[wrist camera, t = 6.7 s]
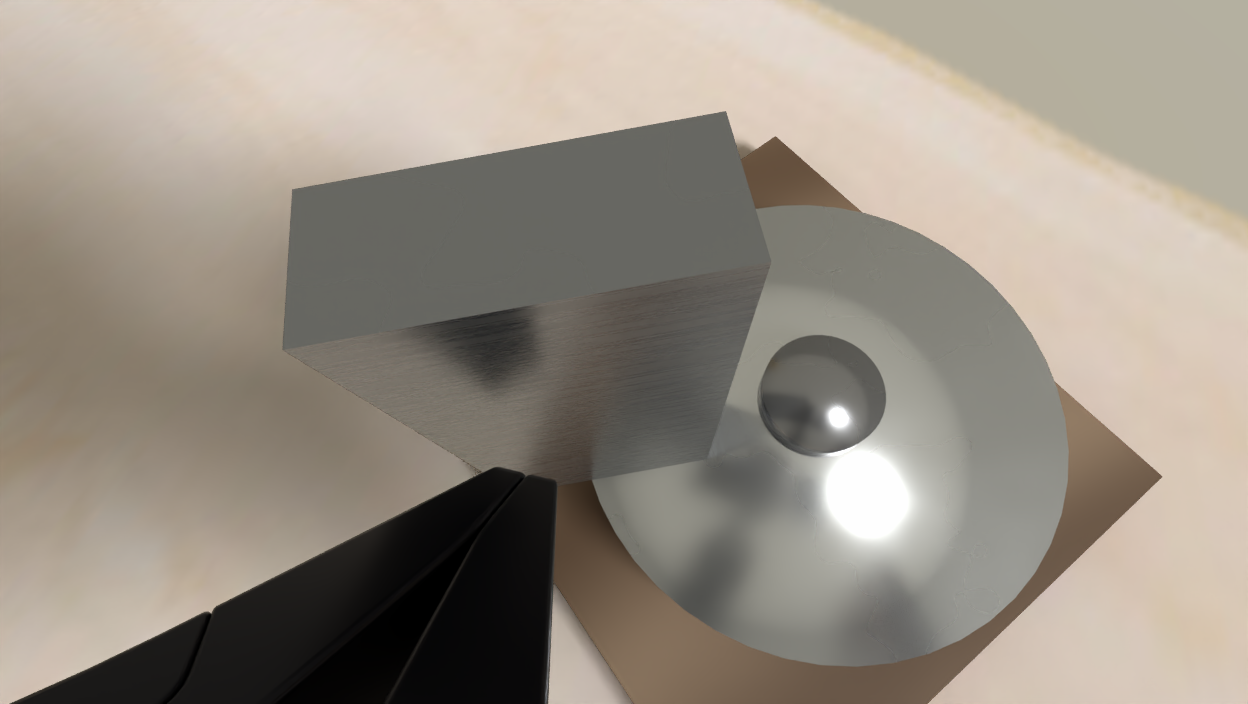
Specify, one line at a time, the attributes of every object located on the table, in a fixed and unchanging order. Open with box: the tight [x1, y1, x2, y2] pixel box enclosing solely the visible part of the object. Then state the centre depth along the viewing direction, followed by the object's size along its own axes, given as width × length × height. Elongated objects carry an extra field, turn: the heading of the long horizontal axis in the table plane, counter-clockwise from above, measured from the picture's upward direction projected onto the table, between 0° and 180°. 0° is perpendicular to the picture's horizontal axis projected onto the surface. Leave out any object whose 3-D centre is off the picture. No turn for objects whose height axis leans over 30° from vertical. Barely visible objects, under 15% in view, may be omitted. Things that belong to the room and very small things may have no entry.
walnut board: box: [554, 136, 1162, 704], centre depth 13 cm, size 13×13×5 cm
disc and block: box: [283, 111, 1069, 667], centre depth 9 cm, size 12×10×9 cm
